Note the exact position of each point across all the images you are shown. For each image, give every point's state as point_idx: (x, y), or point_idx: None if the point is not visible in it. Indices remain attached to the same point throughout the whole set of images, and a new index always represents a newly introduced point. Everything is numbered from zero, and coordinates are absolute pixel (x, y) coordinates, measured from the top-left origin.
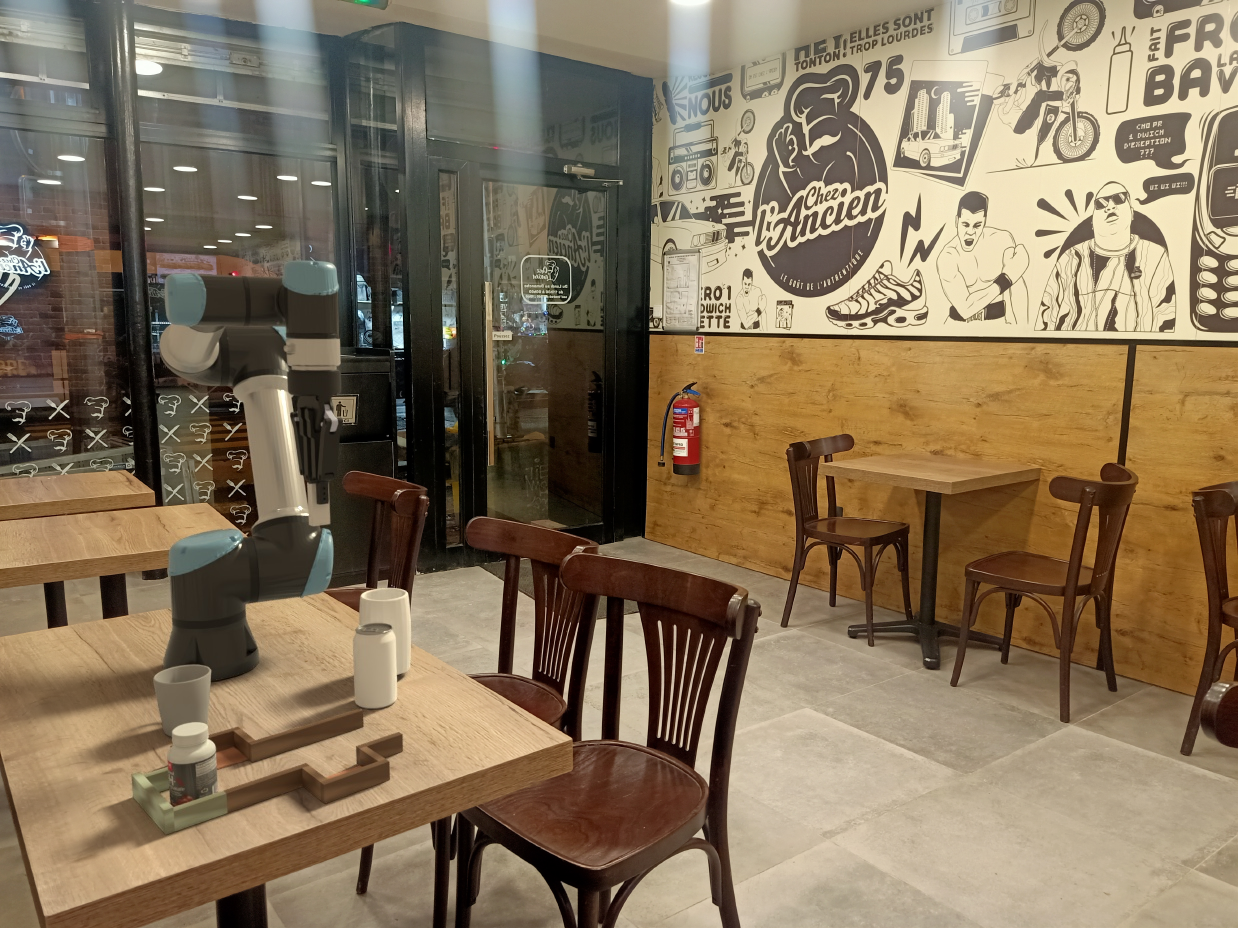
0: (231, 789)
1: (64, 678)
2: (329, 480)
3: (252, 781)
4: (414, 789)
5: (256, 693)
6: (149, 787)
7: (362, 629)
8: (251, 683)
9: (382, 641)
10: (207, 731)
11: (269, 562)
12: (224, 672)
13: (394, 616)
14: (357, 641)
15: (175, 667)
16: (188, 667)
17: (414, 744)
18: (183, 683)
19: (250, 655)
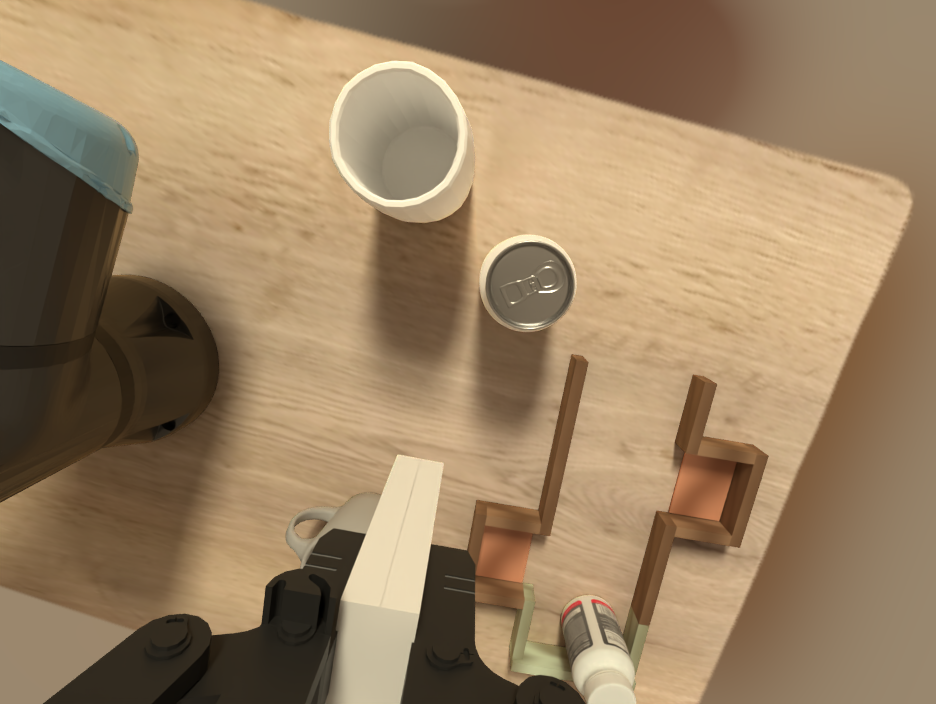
0: (644, 617)
1: (23, 529)
2: (514, 691)
3: (649, 592)
4: (803, 443)
5: (319, 380)
6: (564, 675)
7: (501, 298)
8: (270, 359)
9: (573, 297)
10: (629, 685)
11: (34, 313)
12: (211, 382)
13: (469, 167)
14: (525, 331)
15: (303, 564)
16: (314, 546)
17: (702, 350)
18: None
19: (189, 327)
